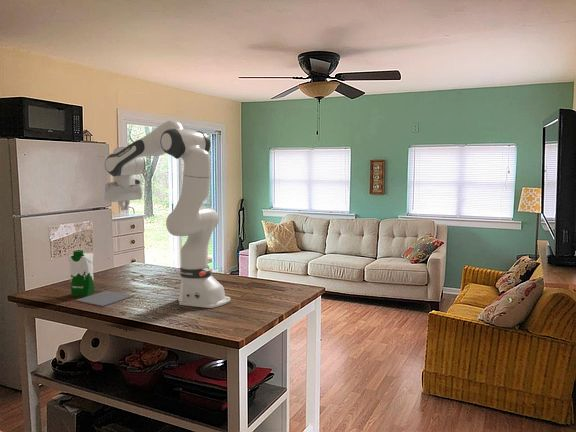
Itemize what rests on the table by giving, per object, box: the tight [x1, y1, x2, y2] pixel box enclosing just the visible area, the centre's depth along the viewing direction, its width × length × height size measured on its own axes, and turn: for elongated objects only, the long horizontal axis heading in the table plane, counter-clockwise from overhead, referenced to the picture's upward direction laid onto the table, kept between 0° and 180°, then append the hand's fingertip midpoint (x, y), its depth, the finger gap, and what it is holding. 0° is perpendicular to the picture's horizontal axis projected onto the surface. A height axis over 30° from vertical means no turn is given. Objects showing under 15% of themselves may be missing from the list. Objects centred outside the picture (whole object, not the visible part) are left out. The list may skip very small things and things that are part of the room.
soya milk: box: [67, 249, 95, 298], centre depth 210 cm, size 9×9×20 cm
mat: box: [75, 290, 134, 307], centre depth 205 cm, size 17×16×1 cm
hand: (124, 210), depth 230 cm, fingers closed
